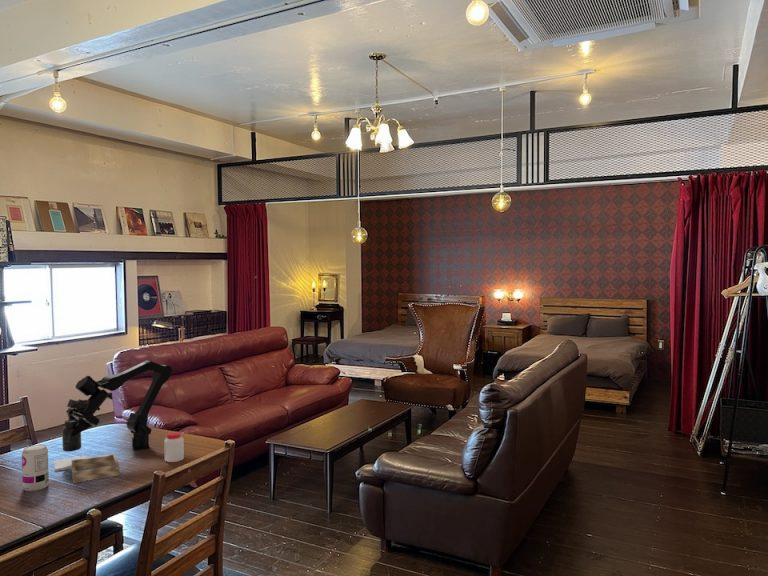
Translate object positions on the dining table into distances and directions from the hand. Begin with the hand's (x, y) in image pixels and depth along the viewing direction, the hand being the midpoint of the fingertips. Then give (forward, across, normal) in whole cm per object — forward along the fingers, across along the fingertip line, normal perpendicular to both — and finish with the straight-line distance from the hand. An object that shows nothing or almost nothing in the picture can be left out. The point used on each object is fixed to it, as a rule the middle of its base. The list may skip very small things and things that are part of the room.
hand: (68, 434), depth 233 cm
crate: (+7, +17, +11) cm, 22 cm away
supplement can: (+22, +15, -3) cm, 27 cm away
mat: (+8, -1, +10) cm, 13 cm away
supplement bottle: (+4, 0, +6) cm, 7 cm away
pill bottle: (-12, +27, +32) cm, 43 cm away
